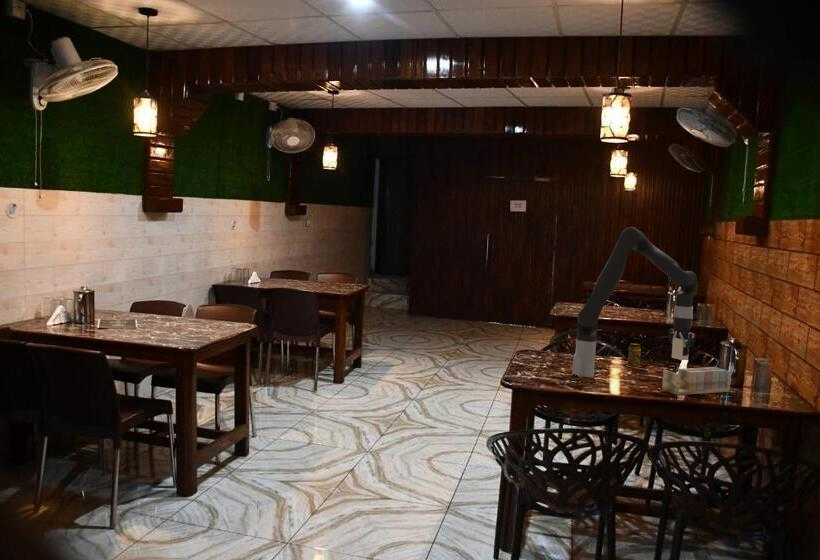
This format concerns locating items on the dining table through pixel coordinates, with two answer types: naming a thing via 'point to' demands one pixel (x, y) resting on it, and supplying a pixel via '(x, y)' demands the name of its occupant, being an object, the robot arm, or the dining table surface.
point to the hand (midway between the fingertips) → (680, 354)
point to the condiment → (634, 355)
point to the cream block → (678, 349)
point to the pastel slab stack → (696, 381)
